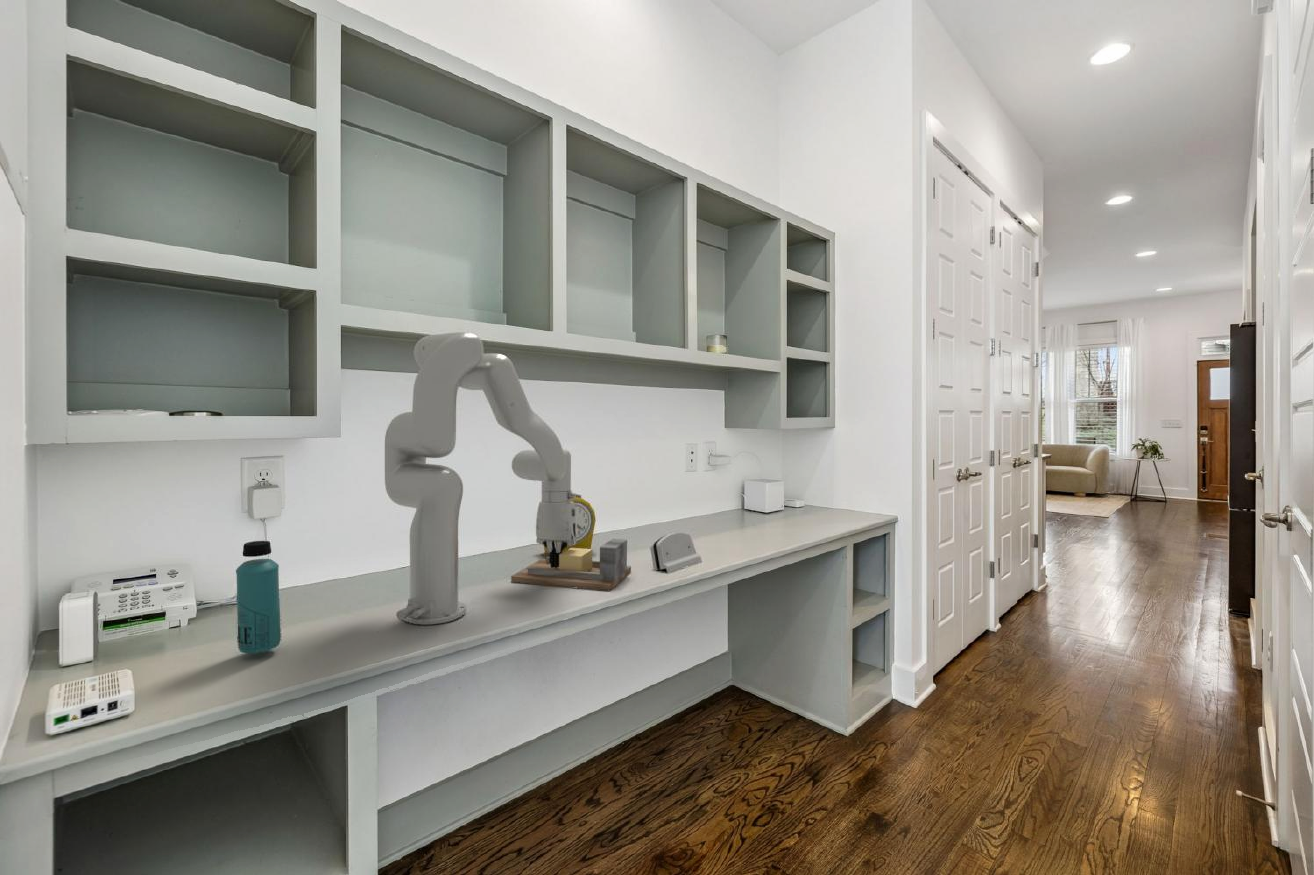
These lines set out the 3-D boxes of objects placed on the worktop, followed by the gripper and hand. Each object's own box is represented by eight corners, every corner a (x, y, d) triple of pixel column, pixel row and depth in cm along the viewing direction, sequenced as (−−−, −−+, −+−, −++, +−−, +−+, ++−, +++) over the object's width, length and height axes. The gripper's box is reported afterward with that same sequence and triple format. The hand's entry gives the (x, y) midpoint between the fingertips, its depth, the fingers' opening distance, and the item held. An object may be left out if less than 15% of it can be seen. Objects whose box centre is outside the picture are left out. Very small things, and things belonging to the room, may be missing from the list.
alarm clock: (550, 559, 173) (550, 496, 172) (539, 553, 180) (539, 492, 179) (596, 553, 181) (596, 492, 180) (584, 547, 188) (584, 489, 187)
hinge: (668, 573, 159) (658, 537, 161) (654, 576, 162) (645, 540, 164) (702, 561, 173) (693, 527, 174) (689, 564, 175) (681, 531, 177)
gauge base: (609, 591, 144) (610, 552, 143) (511, 582, 150) (511, 544, 149) (630, 571, 161) (631, 536, 160) (541, 564, 167) (542, 530, 167)
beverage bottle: (289, 647, 108) (287, 537, 107) (266, 662, 101) (264, 546, 100) (252, 647, 108) (250, 537, 107) (227, 662, 101) (224, 545, 100)
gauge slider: (581, 576, 150) (581, 556, 150) (559, 574, 152) (559, 554, 152) (598, 563, 163) (598, 545, 162) (577, 562, 164) (577, 544, 164)
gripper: (588, 496, 157) (587, 565, 158) (535, 493, 161) (535, 560, 162) (578, 500, 150) (577, 572, 151) (523, 497, 154) (523, 568, 155)
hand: (555, 566), depth 156 cm, fingers closed
